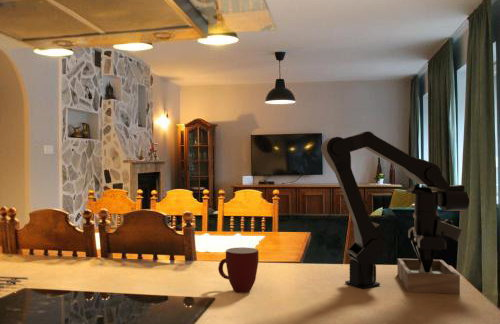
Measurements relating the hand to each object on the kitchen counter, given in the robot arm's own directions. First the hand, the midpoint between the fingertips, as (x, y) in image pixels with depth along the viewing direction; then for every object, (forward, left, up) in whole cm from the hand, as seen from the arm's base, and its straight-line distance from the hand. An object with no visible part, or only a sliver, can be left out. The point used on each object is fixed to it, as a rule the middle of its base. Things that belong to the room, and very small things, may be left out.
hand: (425, 270), depth 123 cm
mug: (-45, +21, -4) cm, 50 cm away
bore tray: (0, 0, -3) cm, 3 cm away
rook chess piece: (0, 0, -3) cm, 3 cm away
